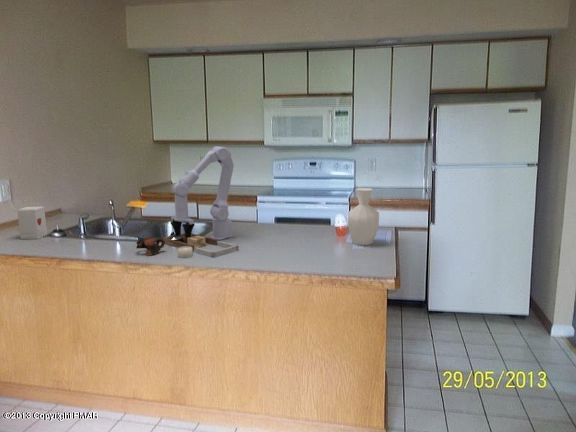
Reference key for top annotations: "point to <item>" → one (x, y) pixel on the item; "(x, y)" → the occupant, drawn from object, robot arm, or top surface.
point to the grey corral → (227, 249)
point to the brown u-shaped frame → (181, 244)
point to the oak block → (196, 241)
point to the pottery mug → (151, 245)
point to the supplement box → (32, 222)
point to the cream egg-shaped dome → (185, 252)
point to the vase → (363, 219)
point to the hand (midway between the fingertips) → (183, 237)
